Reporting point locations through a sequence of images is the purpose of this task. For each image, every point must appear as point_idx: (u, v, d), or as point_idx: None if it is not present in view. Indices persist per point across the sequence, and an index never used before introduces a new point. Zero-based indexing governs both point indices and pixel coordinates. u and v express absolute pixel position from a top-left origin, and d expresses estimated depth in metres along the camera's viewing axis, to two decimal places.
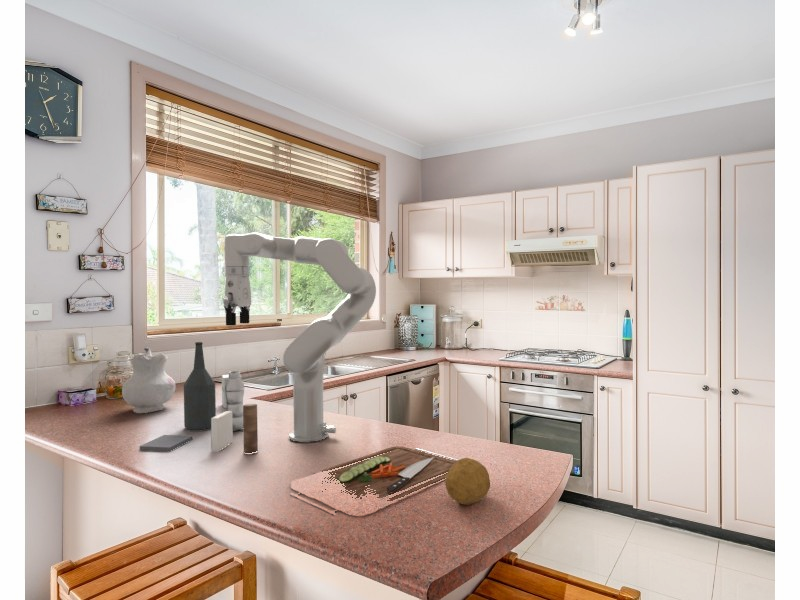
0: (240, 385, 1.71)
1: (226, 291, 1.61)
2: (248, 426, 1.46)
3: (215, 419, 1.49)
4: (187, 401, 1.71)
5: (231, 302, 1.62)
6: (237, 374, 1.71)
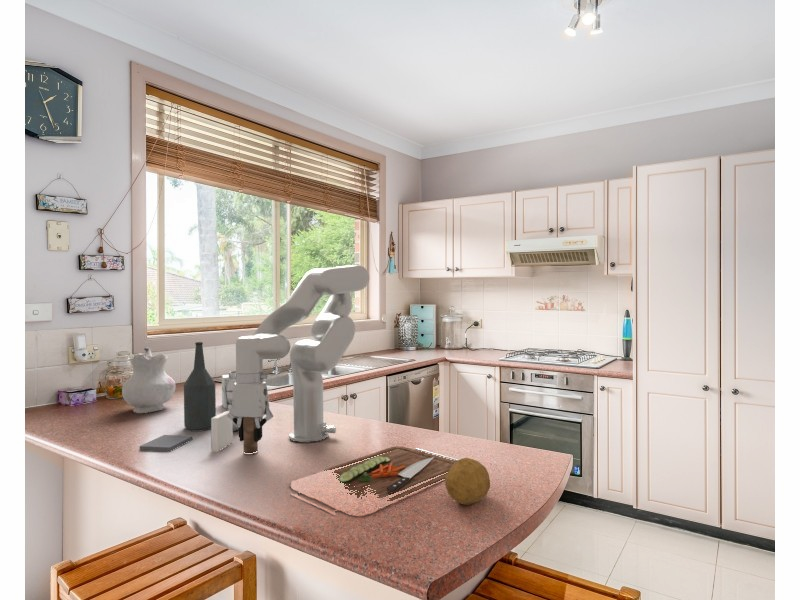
0: None
1: (263, 400, 1.46)
2: (247, 426, 1.46)
3: (215, 419, 1.49)
4: (187, 401, 1.71)
5: None
6: None
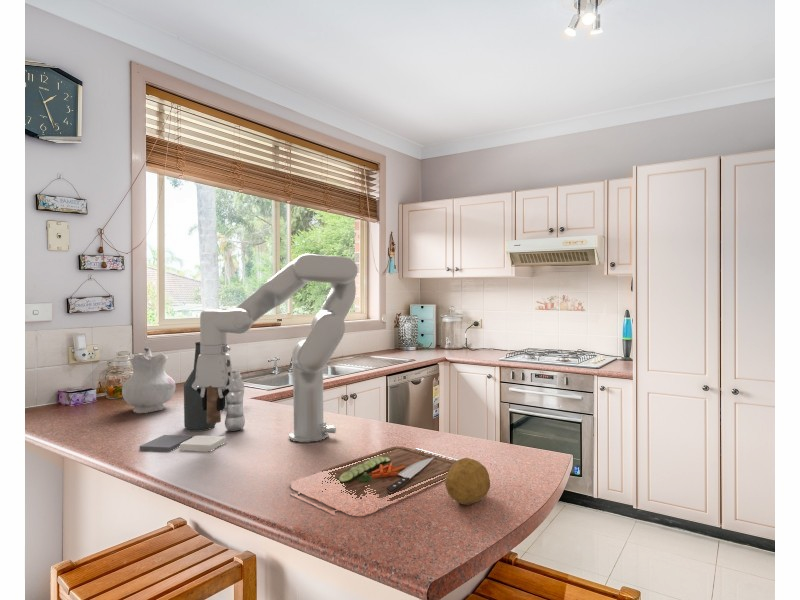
0: (240, 385, 1.71)
1: (226, 371, 1.51)
2: (210, 396, 1.51)
3: (180, 446, 1.51)
4: (187, 401, 1.71)
5: None
6: (237, 374, 1.71)
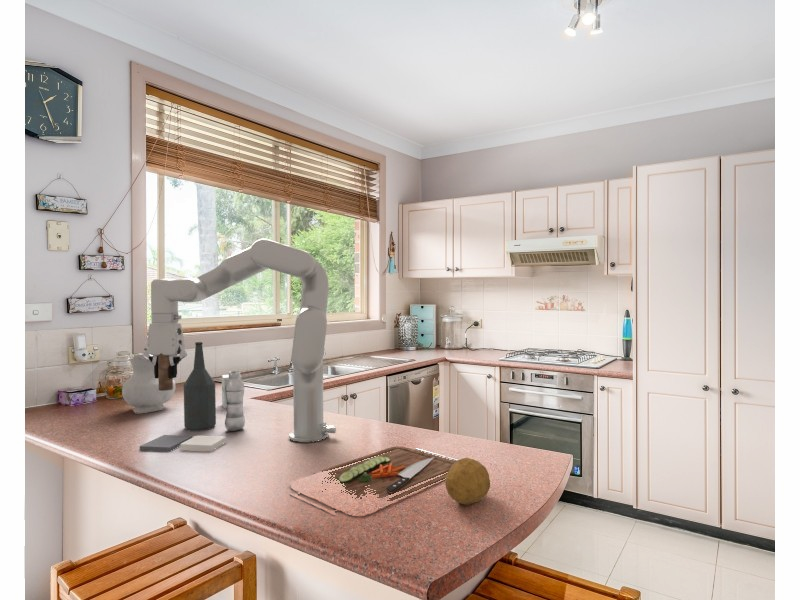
0: (240, 385, 1.71)
1: (176, 339, 1.54)
2: (162, 364, 1.54)
3: (181, 446, 1.51)
4: (187, 401, 1.71)
5: None
6: (237, 374, 1.71)
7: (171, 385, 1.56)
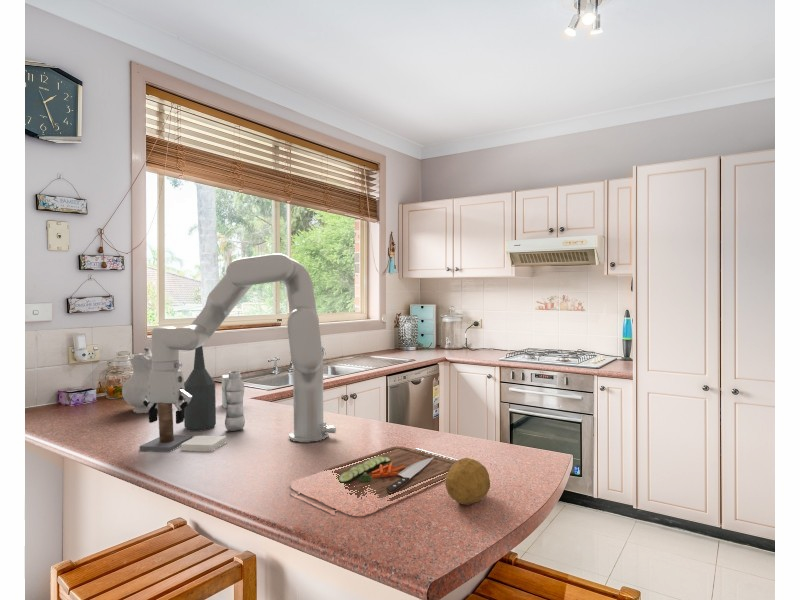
0: (240, 385, 1.71)
1: (177, 387, 1.54)
2: (162, 416, 1.54)
3: (181, 446, 1.51)
4: None
5: None
6: (237, 374, 1.71)
7: (172, 436, 1.56)
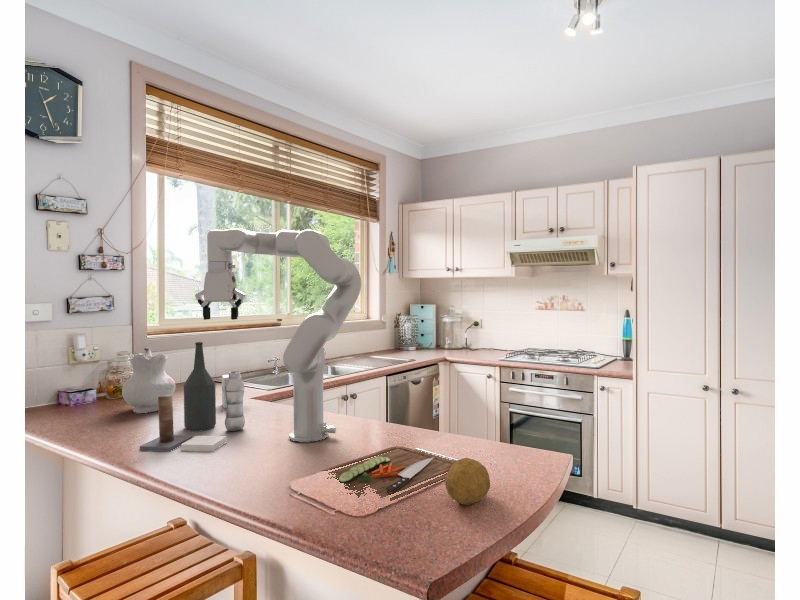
0: (240, 385, 1.71)
1: (231, 286, 1.64)
2: (162, 416, 1.54)
3: (182, 446, 1.50)
4: (187, 401, 1.71)
5: None
6: (237, 374, 1.71)
7: (172, 436, 1.56)
